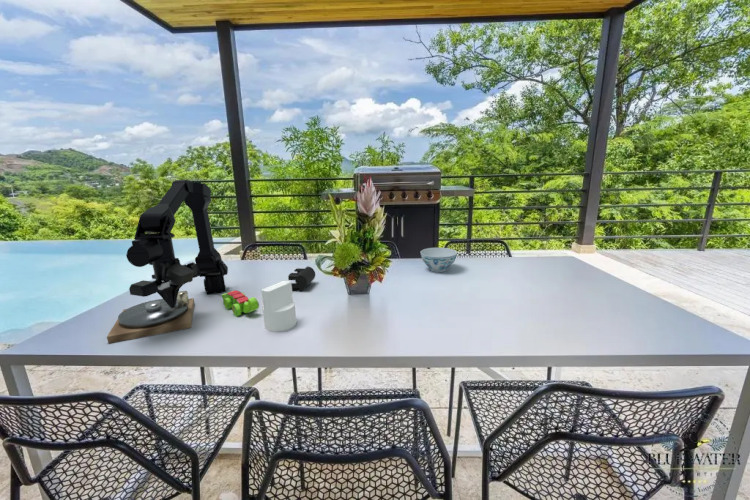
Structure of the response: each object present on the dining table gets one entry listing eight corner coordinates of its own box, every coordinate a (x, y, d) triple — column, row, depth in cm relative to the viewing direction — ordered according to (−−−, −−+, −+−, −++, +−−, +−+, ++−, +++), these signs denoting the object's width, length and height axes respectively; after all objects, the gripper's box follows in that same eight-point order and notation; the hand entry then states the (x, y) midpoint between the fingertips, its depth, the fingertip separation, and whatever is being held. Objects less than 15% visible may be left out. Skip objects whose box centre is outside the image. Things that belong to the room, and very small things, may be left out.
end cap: (307, 292, 127) (306, 274, 126) (289, 291, 128) (287, 274, 127) (316, 282, 137) (315, 266, 135) (298, 282, 138) (297, 266, 136)
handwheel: (191, 298, 118) (188, 283, 117) (188, 319, 102) (185, 301, 101) (126, 309, 111) (122, 292, 110) (111, 333, 95) (107, 314, 94)
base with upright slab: (280, 334, 97) (275, 293, 94) (258, 327, 101) (253, 288, 98) (302, 321, 104) (299, 283, 101) (281, 315, 109) (277, 278, 106)
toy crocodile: (218, 304, 119) (216, 287, 118) (238, 298, 124) (235, 282, 122) (242, 322, 105) (239, 303, 104) (263, 315, 110) (261, 297, 108)
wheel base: (194, 303, 120) (193, 297, 119) (191, 327, 102) (190, 320, 102) (124, 315, 112) (123, 308, 112) (108, 343, 95) (106, 336, 94)
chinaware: (460, 274, 141) (460, 256, 139) (422, 275, 141) (422, 257, 139) (452, 264, 155) (453, 247, 153) (418, 264, 156) (418, 248, 154)
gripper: (152, 268, 88) (164, 325, 92) (210, 249, 105) (218, 298, 109) (122, 264, 92) (134, 319, 96) (183, 247, 109) (191, 294, 113)
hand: (172, 307), depth 103 cm, fingers closed
